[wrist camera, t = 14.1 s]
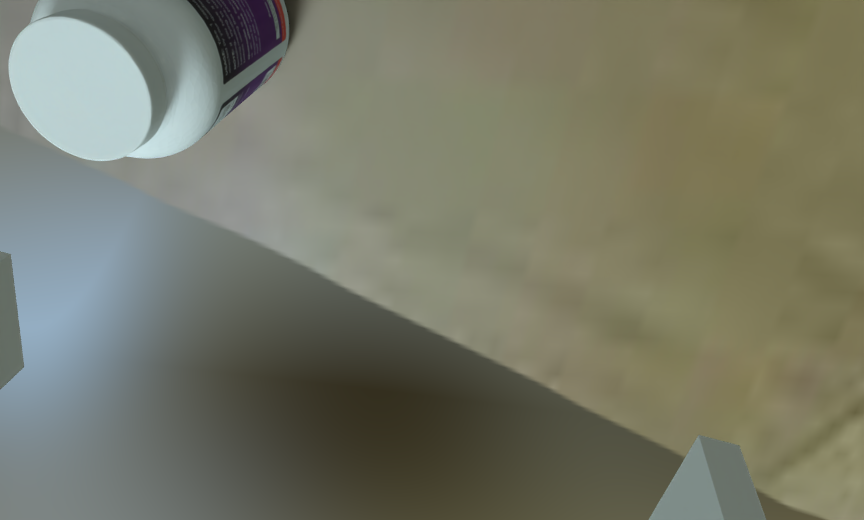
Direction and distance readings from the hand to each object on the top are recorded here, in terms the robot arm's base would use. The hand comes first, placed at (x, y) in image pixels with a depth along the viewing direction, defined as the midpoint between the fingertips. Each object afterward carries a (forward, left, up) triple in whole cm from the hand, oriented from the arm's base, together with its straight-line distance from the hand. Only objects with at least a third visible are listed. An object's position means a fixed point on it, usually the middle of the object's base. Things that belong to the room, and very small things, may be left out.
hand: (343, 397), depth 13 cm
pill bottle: (+13, +1, -28) cm, 31 cm away
